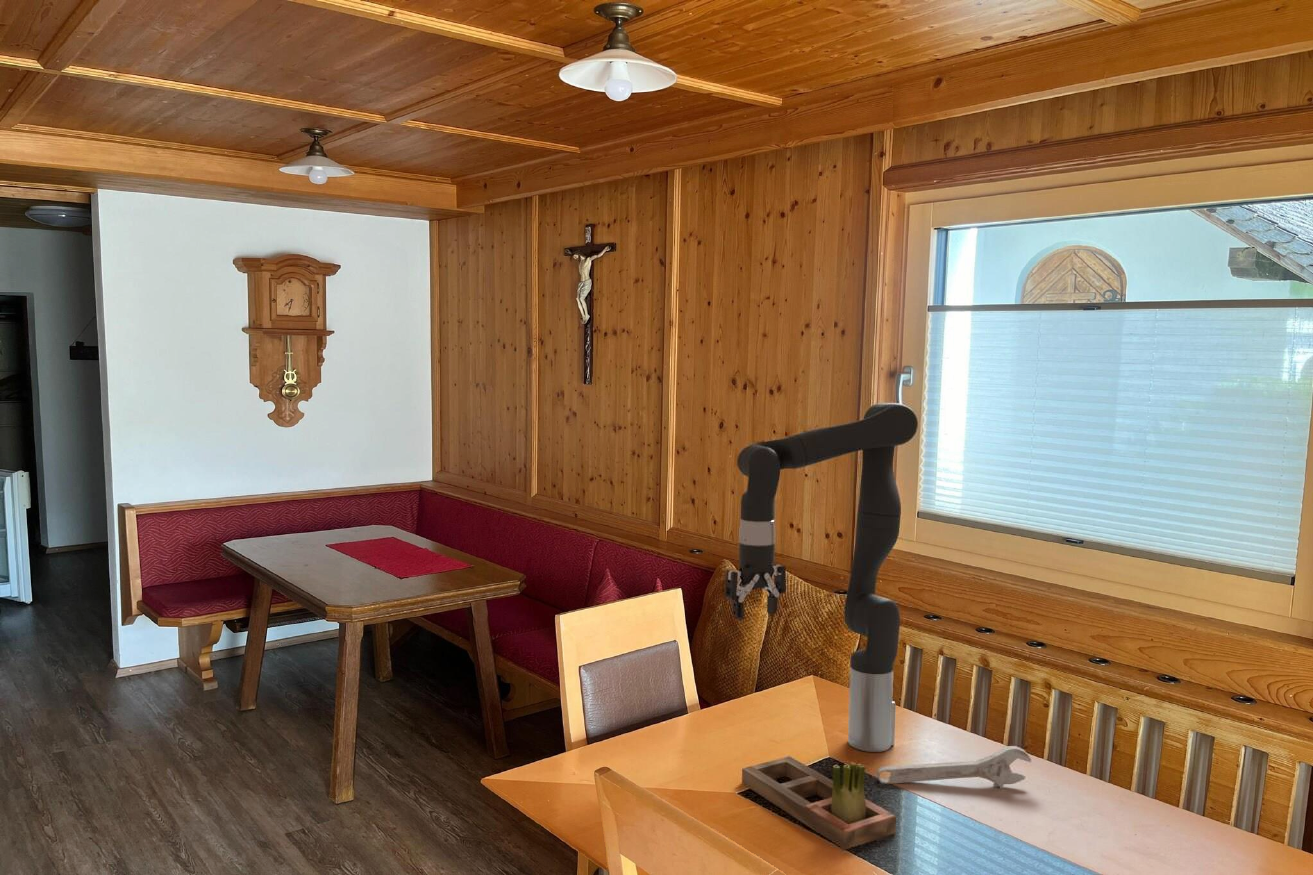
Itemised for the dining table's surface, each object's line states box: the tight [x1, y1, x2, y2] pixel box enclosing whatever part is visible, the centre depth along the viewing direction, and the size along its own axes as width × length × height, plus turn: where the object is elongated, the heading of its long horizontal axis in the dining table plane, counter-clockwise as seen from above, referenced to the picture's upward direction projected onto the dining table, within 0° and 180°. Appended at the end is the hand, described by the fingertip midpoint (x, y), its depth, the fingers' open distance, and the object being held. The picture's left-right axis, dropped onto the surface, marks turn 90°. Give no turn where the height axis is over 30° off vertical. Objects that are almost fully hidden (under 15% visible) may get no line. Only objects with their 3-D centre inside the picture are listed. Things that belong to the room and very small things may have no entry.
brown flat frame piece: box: [741, 755, 897, 850], centre depth 179 cm, size 12×30×3 cm, turn 31°
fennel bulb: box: [831, 761, 866, 824], centre depth 170 cm, size 6×5×12 cm
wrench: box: [876, 745, 1032, 789], centre depth 189 cm, size 8×2×30 cm
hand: (755, 616), depth 200 cm, fingers open, 8 cm apart
